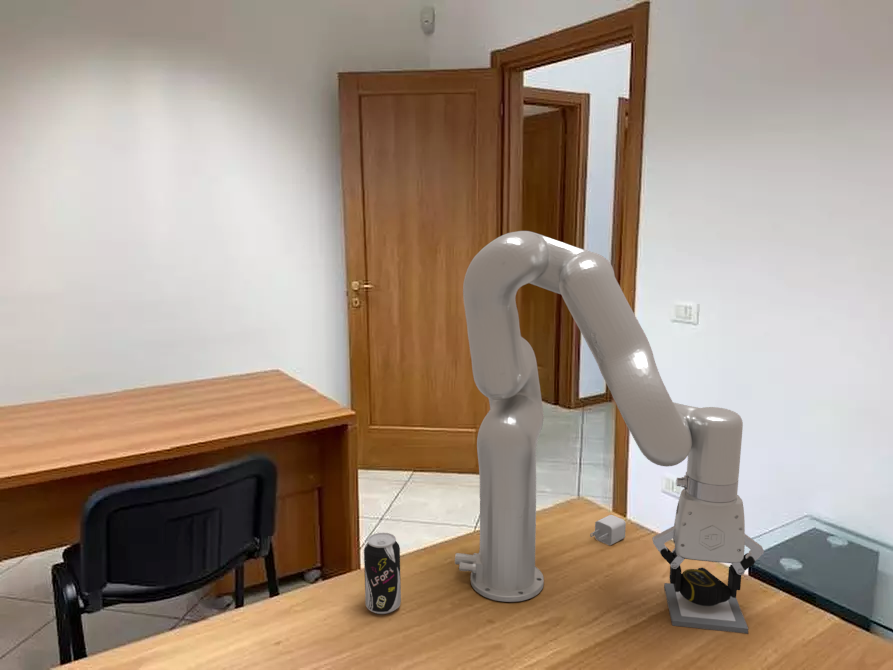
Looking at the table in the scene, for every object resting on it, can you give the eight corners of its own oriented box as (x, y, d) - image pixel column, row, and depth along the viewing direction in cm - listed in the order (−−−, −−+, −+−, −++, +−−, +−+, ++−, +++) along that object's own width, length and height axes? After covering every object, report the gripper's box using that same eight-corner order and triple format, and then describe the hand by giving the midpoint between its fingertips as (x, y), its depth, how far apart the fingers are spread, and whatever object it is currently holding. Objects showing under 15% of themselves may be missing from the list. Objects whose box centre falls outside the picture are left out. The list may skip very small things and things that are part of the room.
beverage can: (365, 618, 107) (363, 548, 105) (366, 598, 113) (363, 531, 111) (401, 616, 108) (400, 546, 106) (400, 596, 113) (399, 529, 111)
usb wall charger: (624, 539, 132) (625, 520, 132) (603, 551, 128) (603, 531, 127) (608, 532, 135) (608, 513, 135) (586, 543, 131) (586, 523, 130)
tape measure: (732, 607, 107) (734, 585, 106) (694, 613, 105) (696, 591, 104) (704, 584, 113) (706, 564, 113) (669, 590, 112) (670, 569, 111)
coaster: (672, 625, 105) (672, 620, 105) (664, 587, 116) (664, 582, 115) (747, 633, 103) (748, 628, 103) (732, 593, 114) (732, 588, 113)
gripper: (655, 492, 104) (649, 597, 107) (778, 501, 100) (768, 609, 103) (650, 474, 111) (645, 572, 114) (764, 482, 107) (756, 583, 111)
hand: (703, 589), depth 109 cm, fingers closed on tape measure, 7 cm apart
